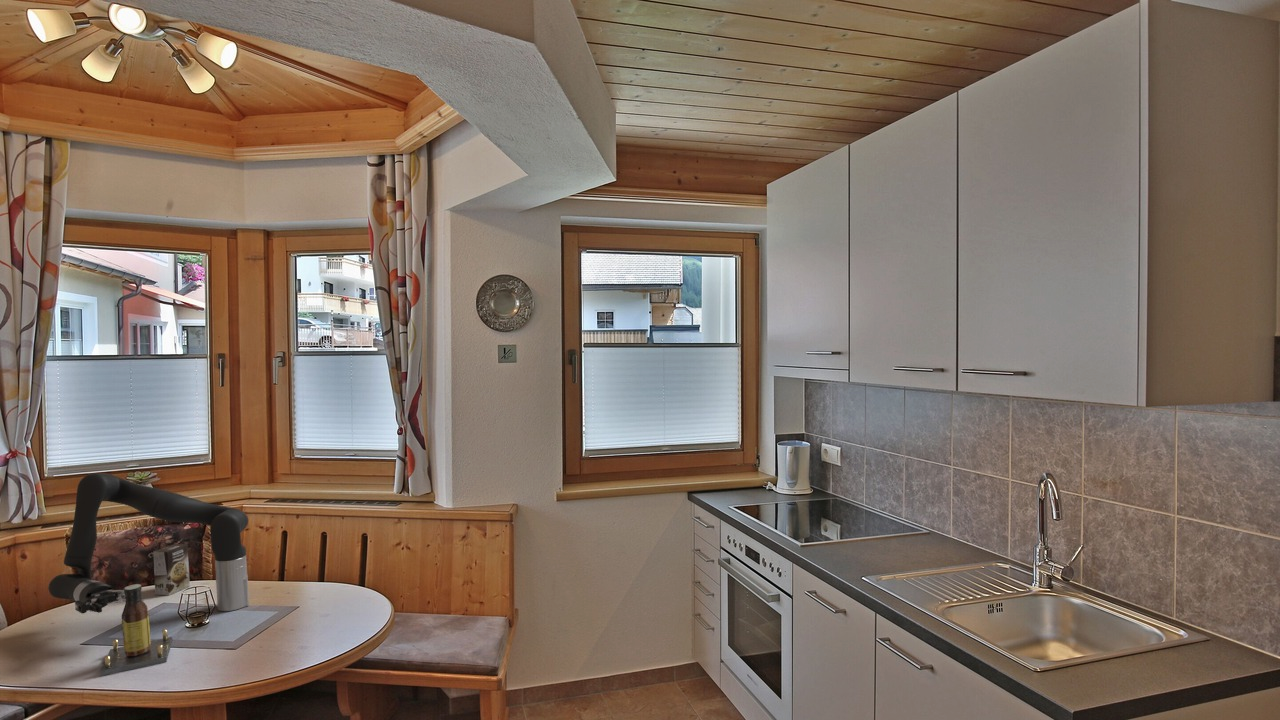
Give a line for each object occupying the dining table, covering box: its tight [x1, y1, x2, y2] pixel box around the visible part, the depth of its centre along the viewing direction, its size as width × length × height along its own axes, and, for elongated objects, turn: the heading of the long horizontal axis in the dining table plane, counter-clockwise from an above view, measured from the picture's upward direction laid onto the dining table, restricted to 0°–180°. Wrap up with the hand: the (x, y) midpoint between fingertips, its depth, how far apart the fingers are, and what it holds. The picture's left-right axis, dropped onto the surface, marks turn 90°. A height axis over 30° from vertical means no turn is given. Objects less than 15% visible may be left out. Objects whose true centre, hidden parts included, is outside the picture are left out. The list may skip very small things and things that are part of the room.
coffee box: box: [152, 543, 191, 596], centre depth 249 cm, size 9×6×16 cm
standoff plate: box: [99, 628, 173, 677], centre depth 197 cm, size 15×15×4 cm
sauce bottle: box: [121, 583, 152, 656], centre depth 196 cm, size 7×6×20 cm
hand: (117, 603), depth 202 cm, fingers open, 8 cm apart
